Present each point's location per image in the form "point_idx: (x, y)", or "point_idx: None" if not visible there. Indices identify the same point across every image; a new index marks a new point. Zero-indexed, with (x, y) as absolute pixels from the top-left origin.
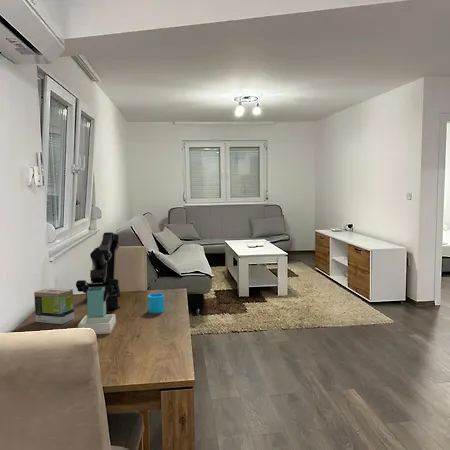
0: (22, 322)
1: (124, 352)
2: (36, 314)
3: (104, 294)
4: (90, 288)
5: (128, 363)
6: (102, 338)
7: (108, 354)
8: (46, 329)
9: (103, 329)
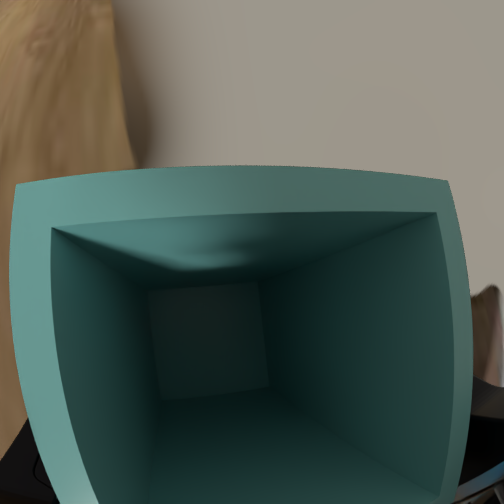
0: (501, 374)
1: (47, 49)
2: None
3: None
4: (451, 447)
5: (52, 7)
6: (130, 167)
7: (97, 33)
8: None
9: None
